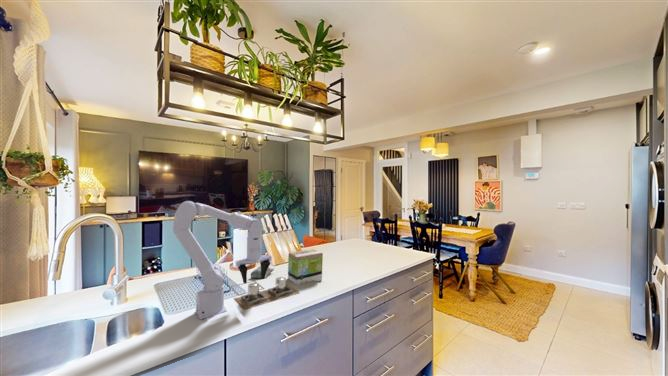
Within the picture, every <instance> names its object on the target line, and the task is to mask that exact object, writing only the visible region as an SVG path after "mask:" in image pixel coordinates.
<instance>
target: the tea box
mask: <svg viewBox="0 0 668 376" xmlns="http://www.w3.org/2000/svg"><path fill="white" fill-rule="evenodd" d="M323 255H324V254H323V252H321V251H318V250H316V249H313V248H312V249H311V248H310V249H306V250H301V251H300V250H298V251H294V252H288V261H287V263H288V264H287V280H289V281H291V282H293V283H295V285H300V284H301V285H302V284H304V283H308V282H312V281H314V282H322V281H323V259H324V258H323Z"/></svg>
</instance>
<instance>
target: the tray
mask: <svg viewBox="0 0 668 376" xmlns="http://www.w3.org/2000/svg"><path fill="white" fill-rule="evenodd" d="M251 283H258V282H257V281H255V280H251V281H248V282H247V283H239V284H236V285H231V286H229V288H230V289H231V290H232V291H233V292H234V293H235V294H236V295H237V296H243V295H247V294H248V291H247V292H244V293H240V294H239V293H238V292H237V291H236V290H235V289H234V288H233V287H237V286H241V285H245V284H251ZM263 290H265V287H263V286H262V285H261V284H259V291H263Z"/></svg>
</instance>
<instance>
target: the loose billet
mask: <svg viewBox="0 0 668 376" xmlns="http://www.w3.org/2000/svg"><path fill="white" fill-rule="evenodd" d="M259 285H260V283H258V282H257V283H255V282H250V283H248V286H247V292H248V293H247V294H248V301H254V300H257V299H259V291H260V290H259V289H260V286H259Z"/></svg>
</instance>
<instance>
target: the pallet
mask: <svg viewBox="0 0 668 376" xmlns="http://www.w3.org/2000/svg"><path fill="white" fill-rule="evenodd" d="M298 294H300V291H298V290H296V289H295V288H293V287H292V286H290V285H289V284H286V292H282V293H278V294H277V293H276V286H274V287H271V288H267V289H264V290H259V299H257V300H254V301H248V293H246V294H242V295H240V297H236V298H235V297H234V298H233V300H234V301H235V303H237V305H238V306H240V308H241V309H242V310H243V311H244V310H245V311H246V310H249V309H252V308H255V307H259V306H262V305H264V304H267V303H268V304H269V303H271V302H276V301H277V300H283V299H285V298H290V297H291V296H296V295H298Z"/></svg>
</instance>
